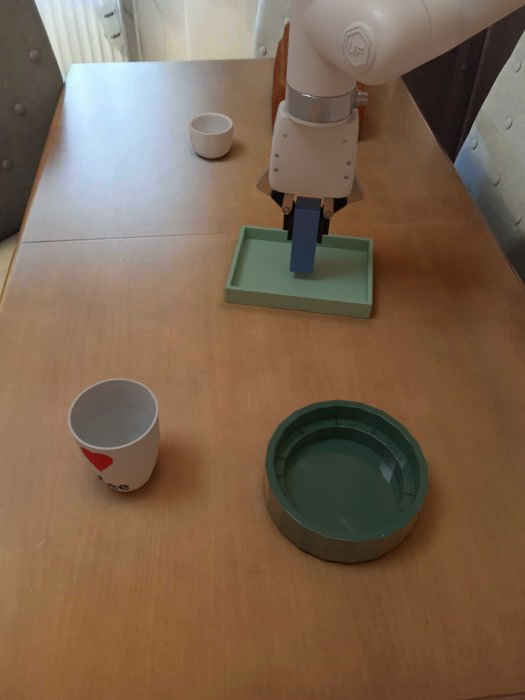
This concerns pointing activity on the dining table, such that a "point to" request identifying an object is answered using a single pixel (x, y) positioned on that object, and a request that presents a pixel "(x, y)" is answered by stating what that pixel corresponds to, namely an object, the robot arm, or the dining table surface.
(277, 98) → the bread
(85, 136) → the dining table surface
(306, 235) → the block
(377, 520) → the green bowl
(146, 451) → the cup
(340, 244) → the tray
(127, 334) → the dining table surface
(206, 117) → the teacup
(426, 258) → the dining table surface
